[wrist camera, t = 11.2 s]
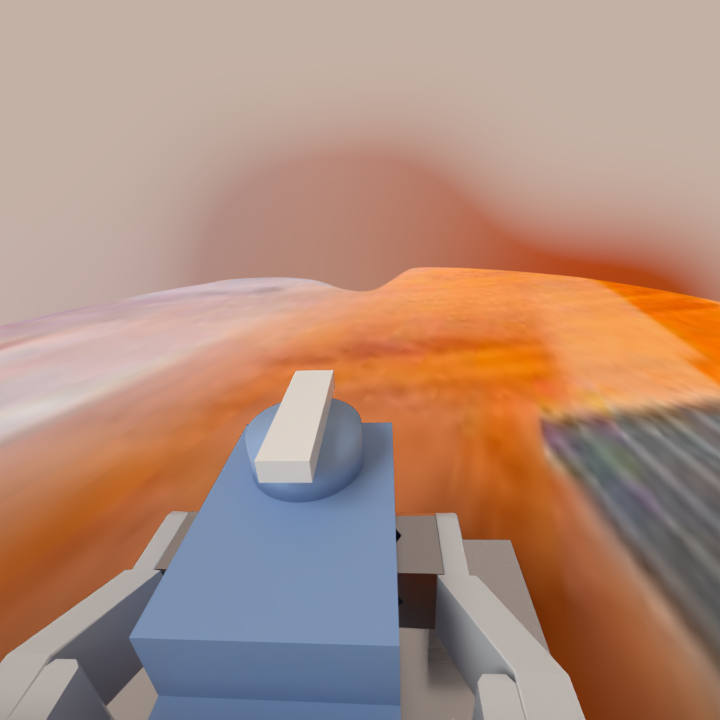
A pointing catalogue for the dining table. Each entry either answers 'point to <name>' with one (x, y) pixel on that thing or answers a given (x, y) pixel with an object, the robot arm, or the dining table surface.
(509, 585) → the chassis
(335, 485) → the servo
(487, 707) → the robot arm
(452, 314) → the dining table surface
